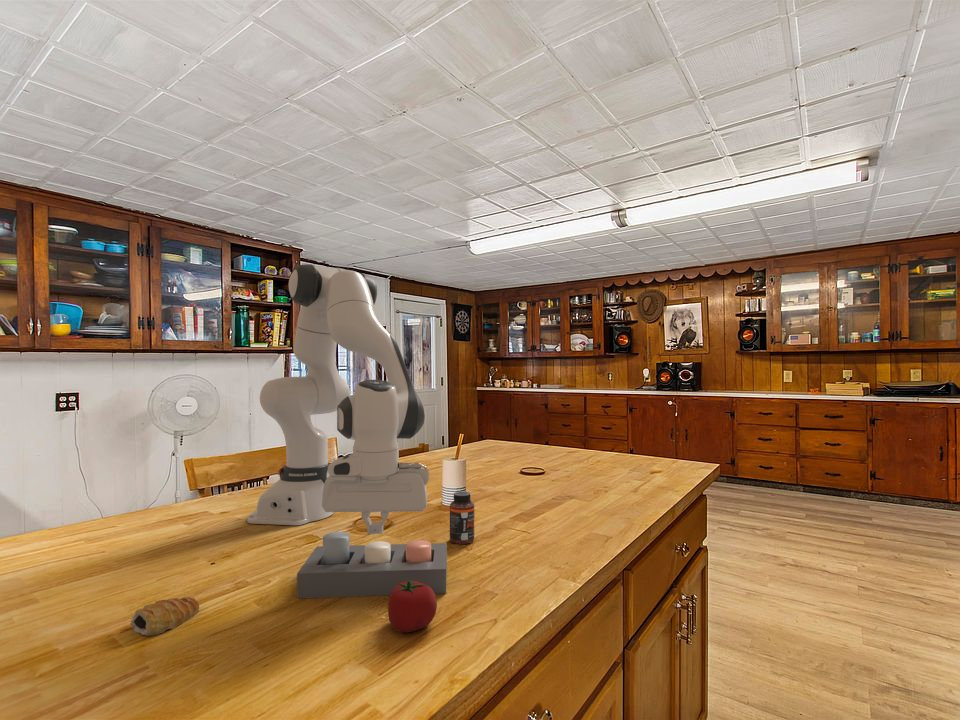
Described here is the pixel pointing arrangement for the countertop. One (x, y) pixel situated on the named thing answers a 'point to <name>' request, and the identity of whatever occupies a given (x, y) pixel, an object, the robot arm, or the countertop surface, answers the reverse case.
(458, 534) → the supplement bottle
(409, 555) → the pink rounded block
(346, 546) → the slate button
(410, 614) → the tomato
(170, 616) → the pastry
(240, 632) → the countertop surface
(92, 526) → the countertop surface
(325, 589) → the egg tray
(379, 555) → the ivory button
